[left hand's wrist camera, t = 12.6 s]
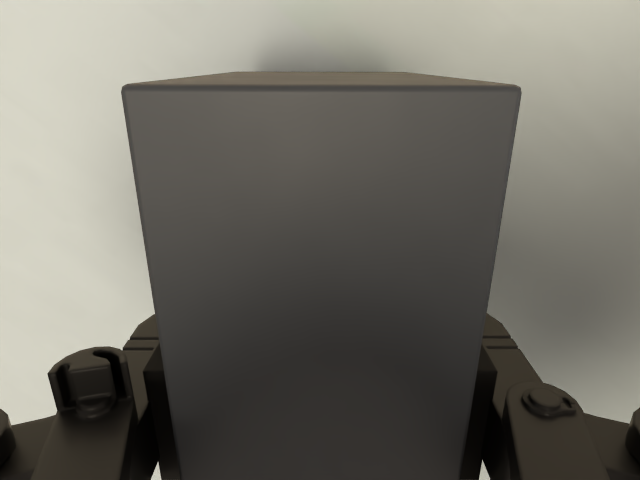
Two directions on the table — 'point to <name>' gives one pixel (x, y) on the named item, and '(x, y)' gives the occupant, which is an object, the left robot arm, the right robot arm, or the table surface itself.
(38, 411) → the table surface
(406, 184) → the post
